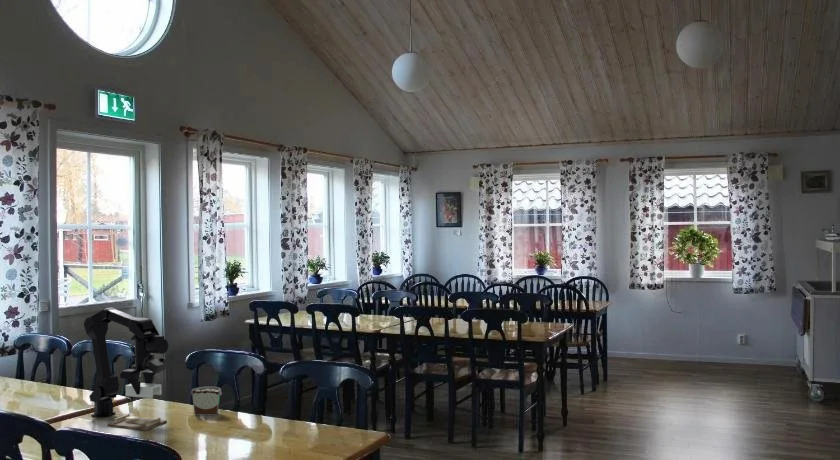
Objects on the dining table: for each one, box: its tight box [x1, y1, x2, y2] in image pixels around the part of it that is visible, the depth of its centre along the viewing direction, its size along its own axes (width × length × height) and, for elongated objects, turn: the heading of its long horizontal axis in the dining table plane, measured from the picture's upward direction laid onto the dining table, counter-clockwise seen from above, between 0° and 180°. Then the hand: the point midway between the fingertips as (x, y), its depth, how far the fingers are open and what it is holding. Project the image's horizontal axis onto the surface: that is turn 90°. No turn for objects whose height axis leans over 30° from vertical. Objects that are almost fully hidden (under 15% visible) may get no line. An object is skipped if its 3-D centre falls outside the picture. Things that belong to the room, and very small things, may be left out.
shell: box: [125, 382, 162, 399], centre depth 263 cm, size 12×6×4 cm, turn 72°
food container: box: [190, 386, 223, 416], centre depth 275 cm, size 12×6×10 cm, turn 84°
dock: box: [107, 413, 168, 431], centre depth 259 cm, size 18×11×2 cm, turn 71°
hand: (143, 392), depth 263 cm, fingers closed on shell, 5 cm apart
